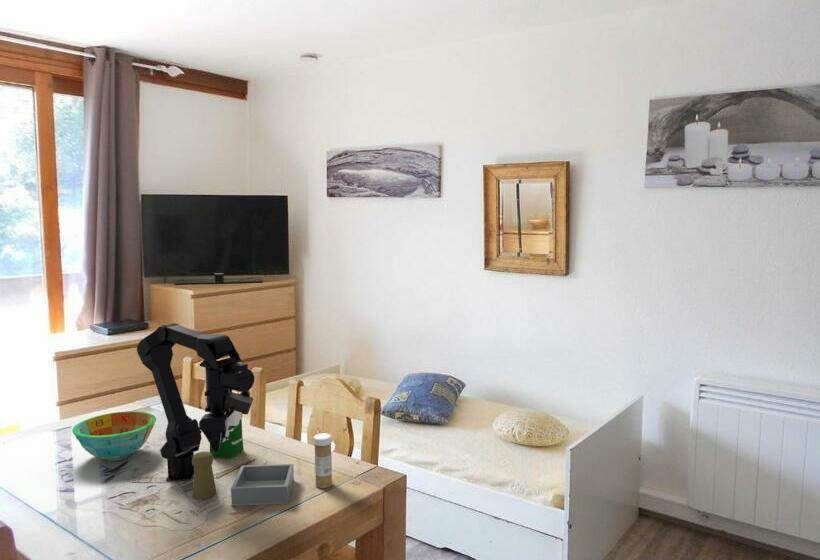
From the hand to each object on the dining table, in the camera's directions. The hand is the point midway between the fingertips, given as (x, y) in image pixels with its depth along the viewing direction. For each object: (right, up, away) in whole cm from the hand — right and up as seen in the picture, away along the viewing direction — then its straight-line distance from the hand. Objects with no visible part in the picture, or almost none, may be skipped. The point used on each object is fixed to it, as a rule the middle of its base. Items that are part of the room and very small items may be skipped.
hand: (219, 444), depth 163 cm
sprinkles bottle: (+26, -12, +4) cm, 29 cm away
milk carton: (-5, -10, +25) cm, 28 cm away
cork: (-4, -13, -1) cm, 13 cm away
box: (+11, -12, 0) cm, 17 cm away
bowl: (-37, -10, +24) cm, 46 cm away
